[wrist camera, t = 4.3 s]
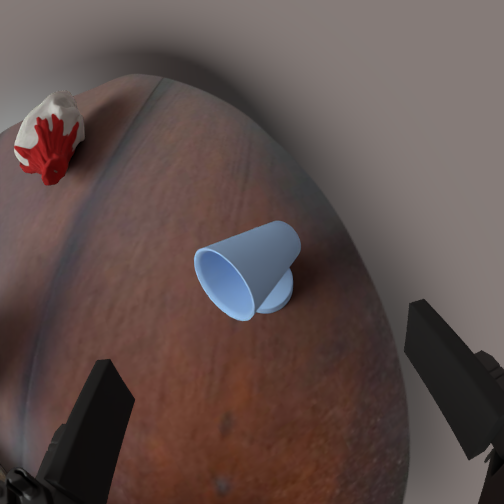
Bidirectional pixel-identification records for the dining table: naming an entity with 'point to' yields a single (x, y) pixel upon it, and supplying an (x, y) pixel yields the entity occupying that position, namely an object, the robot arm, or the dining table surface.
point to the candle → (50, 137)
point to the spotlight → (250, 270)
